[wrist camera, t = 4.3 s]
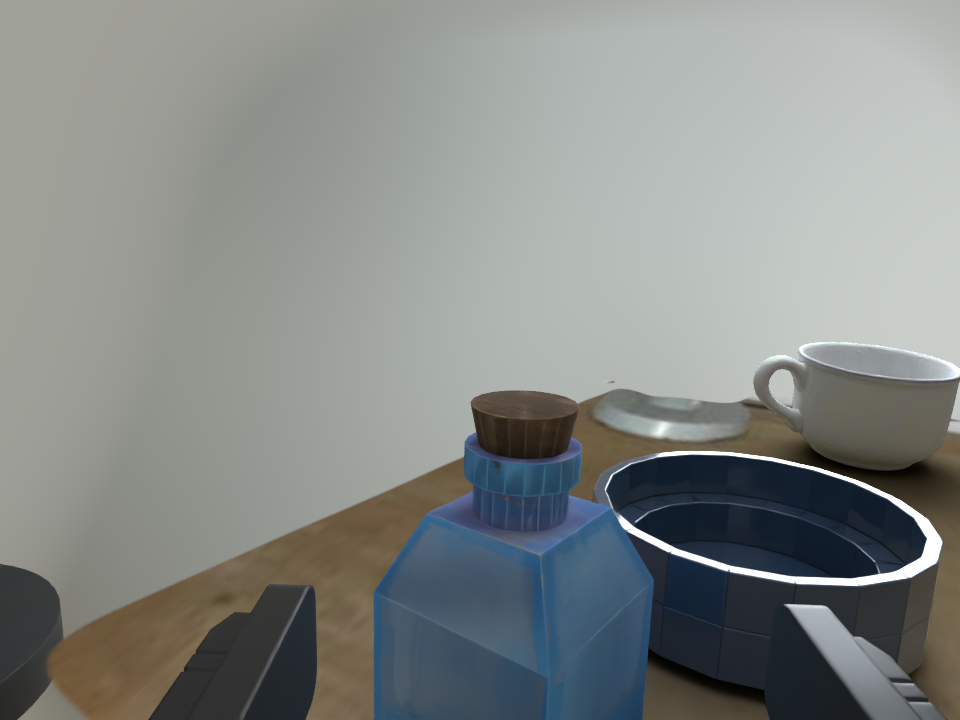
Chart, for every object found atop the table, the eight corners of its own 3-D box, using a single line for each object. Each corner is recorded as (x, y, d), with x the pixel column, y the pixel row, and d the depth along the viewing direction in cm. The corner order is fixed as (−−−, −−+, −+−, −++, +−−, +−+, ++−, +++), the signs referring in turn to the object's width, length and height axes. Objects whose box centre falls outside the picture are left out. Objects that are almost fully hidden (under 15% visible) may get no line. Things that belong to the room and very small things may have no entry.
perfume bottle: (639, 749, 23) (668, 402, 21) (538, 885, 18) (560, 454, 16) (491, 673, 27) (501, 370, 25) (374, 769, 22) (372, 405, 20)
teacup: (915, 443, 57) (930, 347, 56) (972, 492, 47) (993, 376, 45) (736, 426, 60) (745, 335, 59) (753, 469, 50) (765, 360, 48)
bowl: (615, 703, 26) (624, 578, 24) (573, 531, 39) (578, 447, 38) (1007, 718, 25) (1033, 592, 24) (826, 539, 39) (837, 455, 38)
